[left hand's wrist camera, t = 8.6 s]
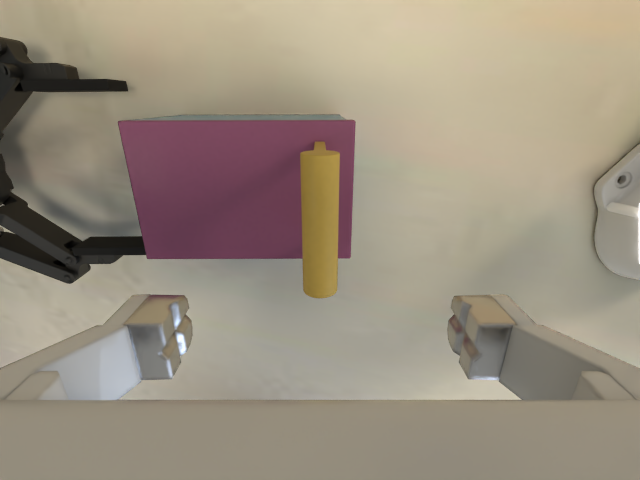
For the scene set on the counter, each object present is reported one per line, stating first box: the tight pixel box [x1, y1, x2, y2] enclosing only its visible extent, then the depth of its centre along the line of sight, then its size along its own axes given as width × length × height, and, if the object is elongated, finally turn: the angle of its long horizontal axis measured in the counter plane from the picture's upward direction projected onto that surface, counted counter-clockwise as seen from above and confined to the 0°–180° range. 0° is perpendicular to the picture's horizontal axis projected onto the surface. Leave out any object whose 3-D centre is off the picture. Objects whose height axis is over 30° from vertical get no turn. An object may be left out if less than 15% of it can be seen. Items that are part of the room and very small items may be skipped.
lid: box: [118, 120, 355, 298], centre depth 21 cm, size 16×10×9 cm, turn 90°
